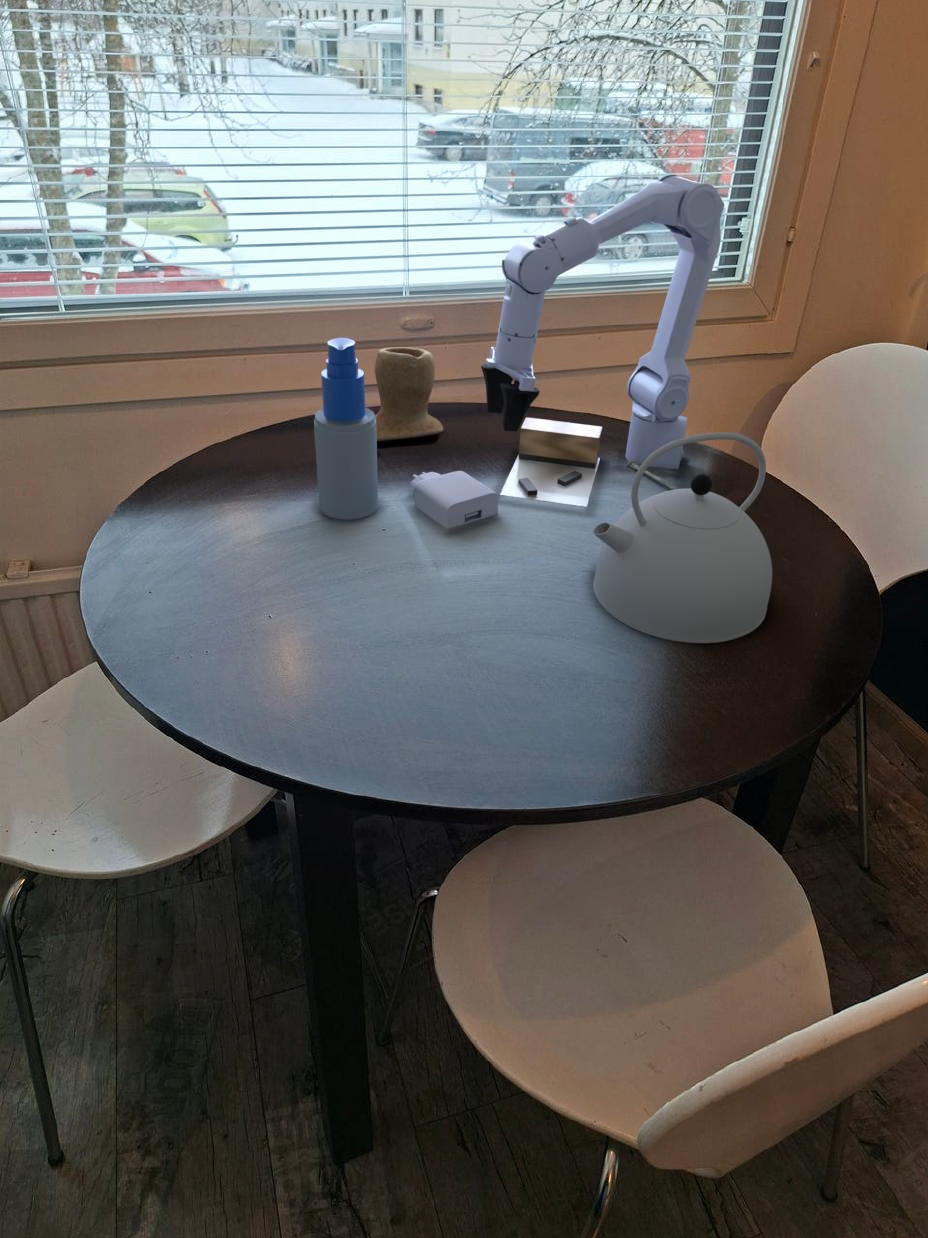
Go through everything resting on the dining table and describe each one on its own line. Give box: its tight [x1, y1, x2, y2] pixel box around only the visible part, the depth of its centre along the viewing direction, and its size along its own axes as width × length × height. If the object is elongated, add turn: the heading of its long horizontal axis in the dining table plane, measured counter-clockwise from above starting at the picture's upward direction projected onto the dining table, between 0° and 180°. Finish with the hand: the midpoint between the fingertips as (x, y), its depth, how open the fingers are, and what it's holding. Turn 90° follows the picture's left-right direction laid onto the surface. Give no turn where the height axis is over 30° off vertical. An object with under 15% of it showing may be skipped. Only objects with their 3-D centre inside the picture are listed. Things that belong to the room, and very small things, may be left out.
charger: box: [409, 470, 500, 530], centre depth 133 cm, size 5×9×15 cm
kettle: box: [592, 431, 773, 644], centre depth 110 cm, size 25×23×23 cm
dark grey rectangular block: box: [518, 478, 537, 495], centre depth 138 cm, size 4×2×1 cm, turn 16°
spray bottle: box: [313, 337, 379, 520], centre depth 126 cm, size 9×9×25 cm
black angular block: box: [557, 471, 582, 486], centre depth 141 cm, size 4×2×1 cm, turn 137°
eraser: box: [517, 416, 603, 469], centre depth 147 cm, size 13×5×6 cm, turn 77°
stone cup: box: [374, 346, 444, 442], centre depth 153 cm, size 15×12×15 cm
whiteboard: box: [499, 454, 601, 508], centre depth 143 cm, size 15×20×1 cm
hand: (502, 420), depth 135 cm, fingers open, 7 cm apart
